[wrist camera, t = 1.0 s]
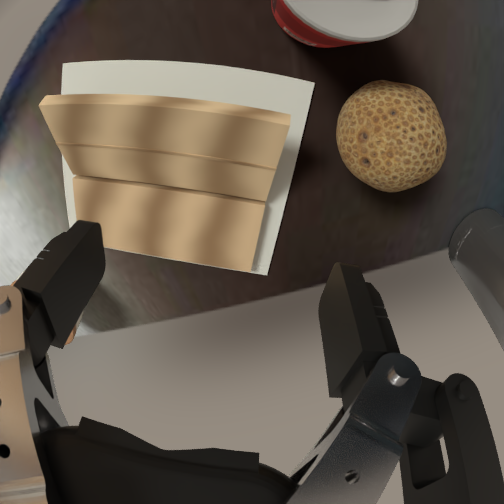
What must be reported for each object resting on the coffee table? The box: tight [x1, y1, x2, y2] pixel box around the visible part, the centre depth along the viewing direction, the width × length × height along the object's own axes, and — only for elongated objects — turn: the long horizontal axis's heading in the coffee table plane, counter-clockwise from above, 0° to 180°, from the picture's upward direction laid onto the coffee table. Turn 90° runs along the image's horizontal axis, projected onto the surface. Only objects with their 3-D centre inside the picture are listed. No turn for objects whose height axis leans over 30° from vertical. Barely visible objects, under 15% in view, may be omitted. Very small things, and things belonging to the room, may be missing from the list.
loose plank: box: [39, 94, 291, 201], centre depth 24 cm, size 20×10×1 cm
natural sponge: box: [336, 80, 447, 192], centre depth 21 cm, size 9×9×10 cm
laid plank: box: [72, 175, 265, 272], centre depth 31 cm, size 20×8×1 cm, turn 80°
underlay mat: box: [61, 60, 315, 275], centre depth 29 cm, size 24×21×1 cm
